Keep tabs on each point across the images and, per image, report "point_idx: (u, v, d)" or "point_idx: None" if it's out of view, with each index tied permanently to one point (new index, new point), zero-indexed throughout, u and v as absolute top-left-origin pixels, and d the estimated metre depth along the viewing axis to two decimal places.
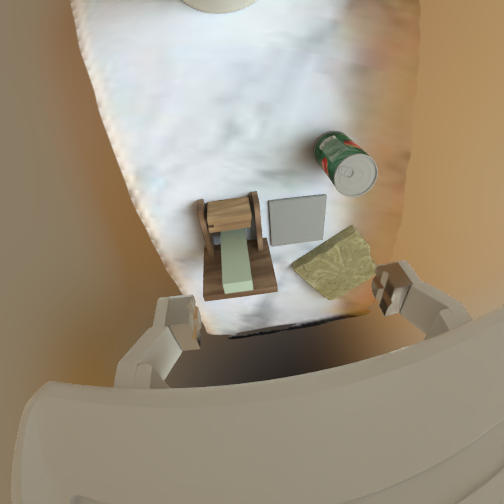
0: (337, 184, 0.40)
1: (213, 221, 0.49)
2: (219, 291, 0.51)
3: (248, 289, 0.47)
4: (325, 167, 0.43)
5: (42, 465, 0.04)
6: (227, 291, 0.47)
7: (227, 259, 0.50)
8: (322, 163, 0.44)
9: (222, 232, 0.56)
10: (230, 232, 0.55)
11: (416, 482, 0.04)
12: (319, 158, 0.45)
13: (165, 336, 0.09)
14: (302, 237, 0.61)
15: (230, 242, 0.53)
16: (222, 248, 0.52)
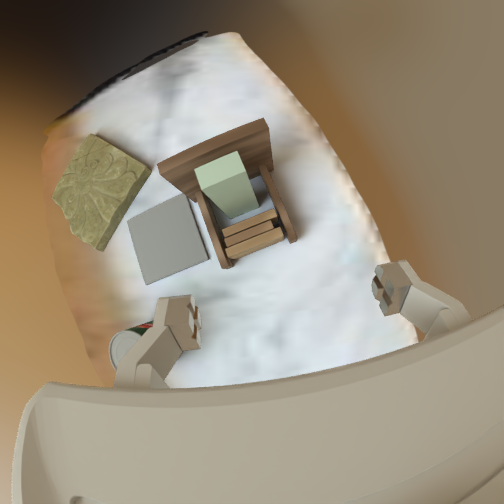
0: None
1: (274, 234, 0.36)
2: (244, 139, 0.30)
3: (202, 168, 0.28)
4: None
5: (42, 465, 0.04)
6: (234, 156, 0.28)
7: (244, 191, 0.33)
8: None
9: (255, 204, 0.41)
10: (244, 208, 0.41)
11: (416, 482, 0.04)
12: None
13: (165, 336, 0.09)
14: (151, 216, 0.44)
15: (243, 202, 0.38)
16: (252, 195, 0.36)
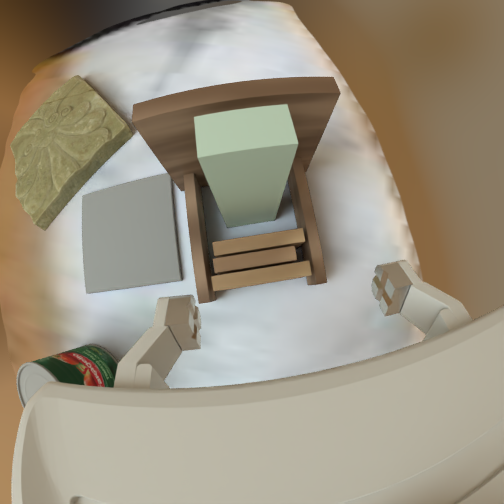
0: None
1: (297, 271, 0.22)
2: (294, 99, 0.16)
3: (210, 118, 0.13)
4: None
5: (42, 465, 0.04)
6: (281, 112, 0.13)
7: (270, 187, 0.18)
8: (102, 385, 0.21)
9: (272, 215, 0.26)
10: (254, 217, 0.26)
11: (416, 482, 0.04)
12: (110, 383, 0.23)
13: (165, 336, 0.09)
14: (115, 197, 0.28)
15: (258, 207, 0.23)
16: (278, 199, 0.21)
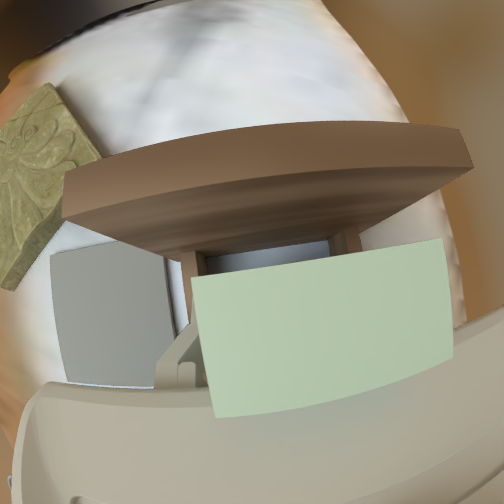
0: None
1: None
2: (404, 174, 0.08)
3: (242, 289, 0.04)
4: None
5: (42, 465, 0.04)
6: (431, 269, 0.04)
7: None
8: None
9: None
10: None
11: (416, 482, 0.04)
12: None
13: None
14: (89, 264, 0.20)
15: None
16: None
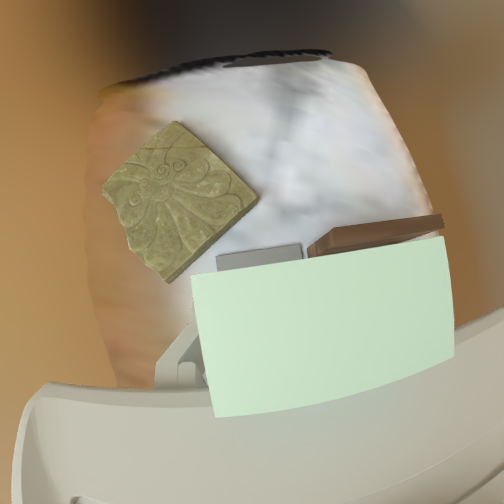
0: None
1: None
2: (422, 231, 0.26)
3: (243, 287, 0.04)
4: None
5: (42, 465, 0.04)
6: (433, 267, 0.04)
7: None
8: None
9: None
10: None
11: (416, 482, 0.04)
12: None
13: None
14: (252, 261, 0.38)
15: None
16: None
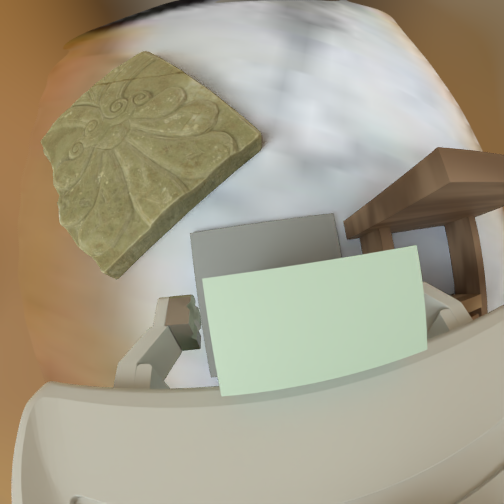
0: None
1: None
2: None
3: (244, 288, 0.06)
4: None
5: (42, 465, 0.04)
6: (406, 272, 0.06)
7: None
8: None
9: None
10: None
11: (416, 482, 0.04)
12: None
13: (165, 336, 0.09)
14: (253, 241, 0.22)
15: None
16: None
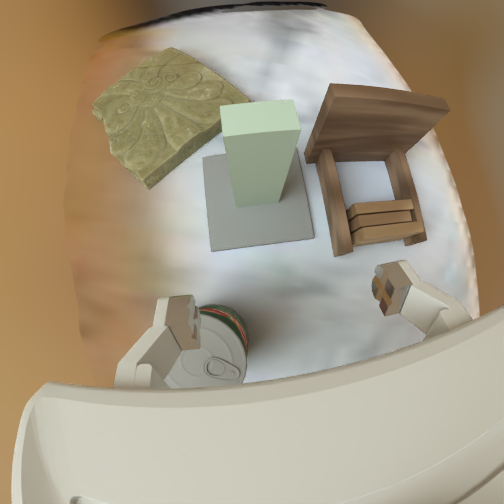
0: (234, 342, 0.20)
1: (416, 227, 0.26)
2: (427, 109, 0.20)
3: (232, 107, 0.16)
4: (245, 342, 0.24)
5: (42, 465, 0.04)
6: (288, 106, 0.16)
7: (277, 167, 0.22)
8: (246, 339, 0.26)
9: (276, 196, 0.30)
10: (261, 197, 0.29)
11: (416, 482, 0.04)
12: (246, 338, 0.27)
13: (165, 336, 0.09)
14: None
15: (265, 187, 0.26)
16: (282, 180, 0.25)
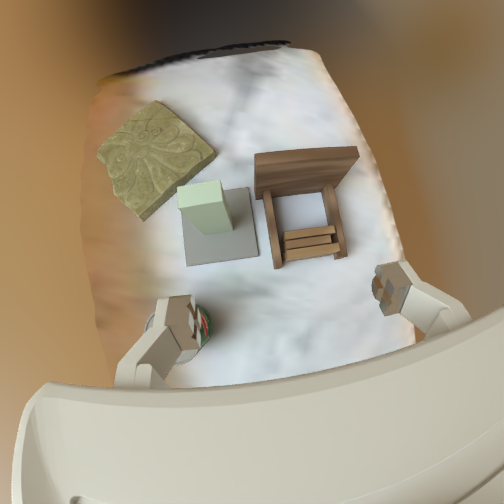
0: None
1: (332, 248, 0.39)
2: (337, 159, 0.33)
3: (184, 188, 0.30)
4: (205, 327, 0.37)
5: (42, 465, 0.04)
6: (216, 184, 0.30)
7: (219, 216, 0.35)
8: (206, 325, 0.39)
9: (229, 228, 0.43)
10: (218, 229, 0.43)
11: (416, 482, 0.04)
12: (209, 325, 0.41)
13: (165, 336, 0.09)
14: None
15: (218, 224, 0.40)
16: (227, 220, 0.38)
